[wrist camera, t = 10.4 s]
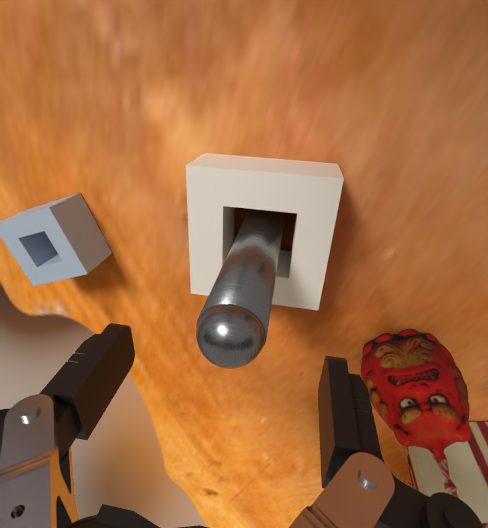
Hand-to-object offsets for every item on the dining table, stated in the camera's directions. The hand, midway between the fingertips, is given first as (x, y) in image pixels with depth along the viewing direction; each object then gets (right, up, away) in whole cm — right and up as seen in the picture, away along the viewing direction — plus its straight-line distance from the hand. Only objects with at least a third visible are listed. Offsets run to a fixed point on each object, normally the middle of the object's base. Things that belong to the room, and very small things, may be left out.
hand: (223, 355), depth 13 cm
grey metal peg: (+3, +7, +14) cm, 16 cm away
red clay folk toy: (+16, -5, +18) cm, 24 cm away
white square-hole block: (+2, +7, +14) cm, 16 cm away
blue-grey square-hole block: (-15, +7, +17) cm, 24 cm away
